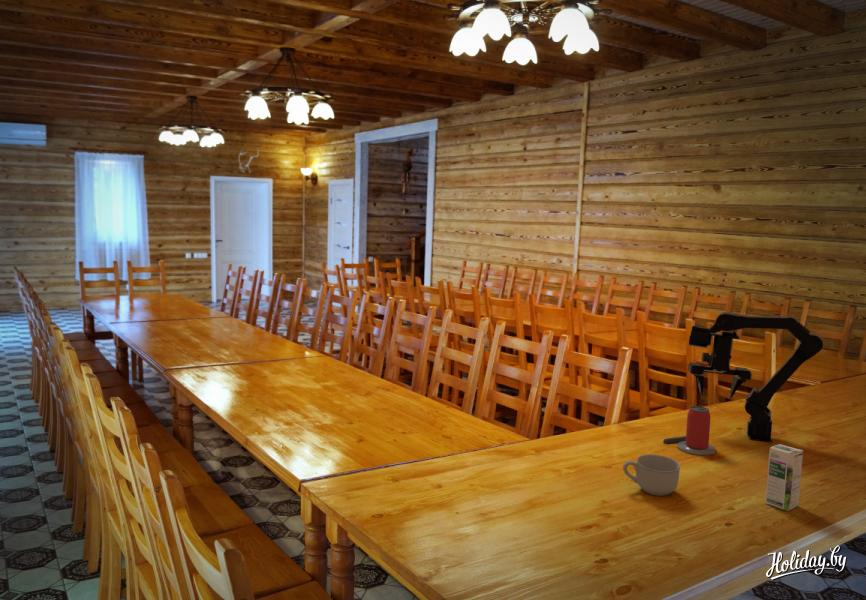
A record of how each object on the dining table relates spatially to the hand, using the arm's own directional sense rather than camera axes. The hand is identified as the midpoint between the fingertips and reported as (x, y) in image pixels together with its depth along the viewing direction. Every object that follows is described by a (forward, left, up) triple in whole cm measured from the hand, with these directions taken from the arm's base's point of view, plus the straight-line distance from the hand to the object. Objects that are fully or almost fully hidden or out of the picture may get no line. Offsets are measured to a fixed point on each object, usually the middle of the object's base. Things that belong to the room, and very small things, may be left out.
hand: (715, 396), depth 220 cm
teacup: (+19, +59, -12) cm, 63 cm away
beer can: (+6, +21, -11) cm, 25 cm away
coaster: (+6, +21, -12) cm, 25 cm away
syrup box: (-12, +57, -12) cm, 59 cm away
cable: (+11, +15, -12) cm, 23 cm away
